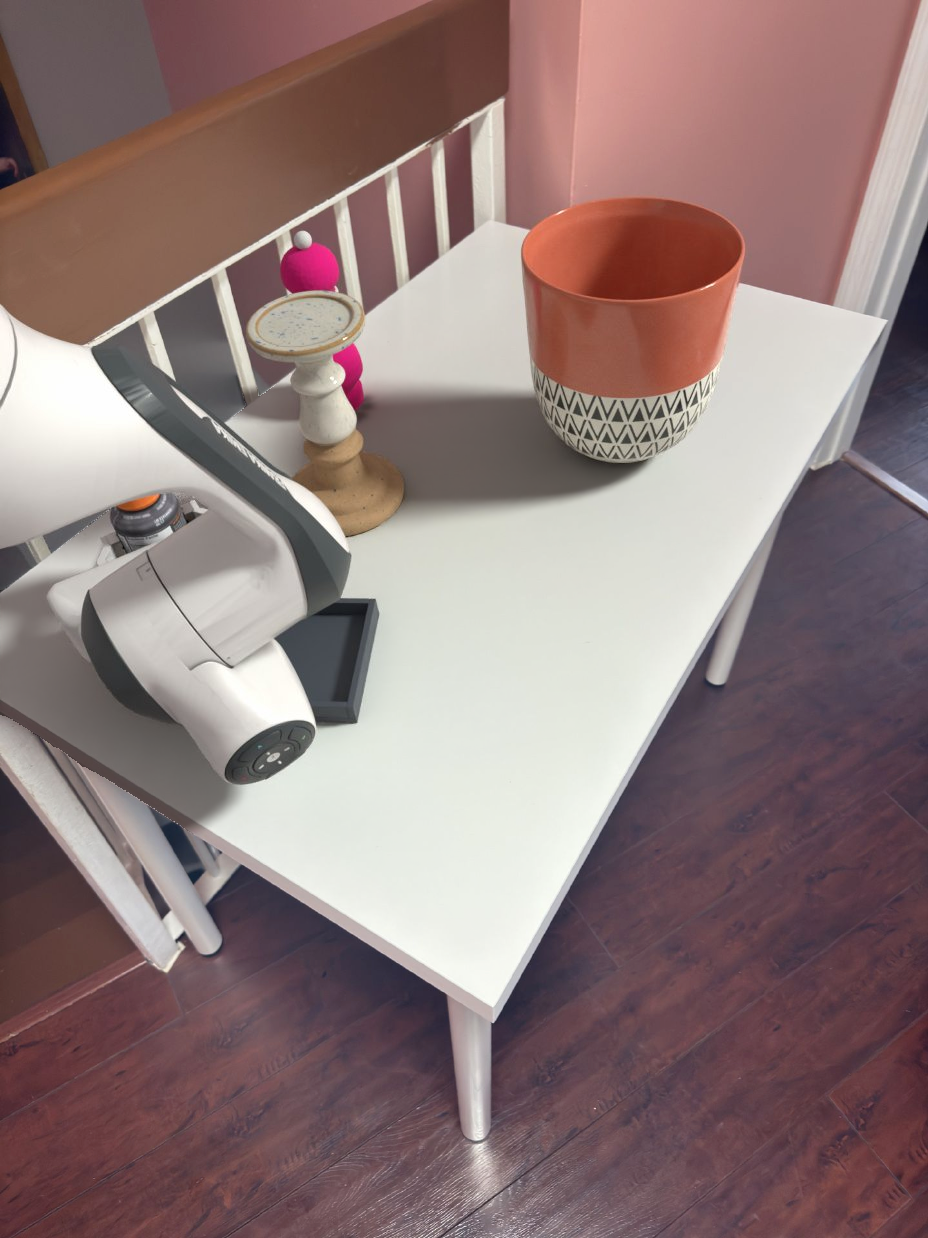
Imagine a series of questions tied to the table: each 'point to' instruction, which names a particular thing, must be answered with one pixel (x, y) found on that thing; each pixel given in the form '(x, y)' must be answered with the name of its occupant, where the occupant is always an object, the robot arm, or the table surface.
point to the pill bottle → (147, 520)
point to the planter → (628, 320)
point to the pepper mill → (320, 271)
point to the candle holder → (328, 405)
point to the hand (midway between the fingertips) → (149, 523)
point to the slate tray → (333, 656)
